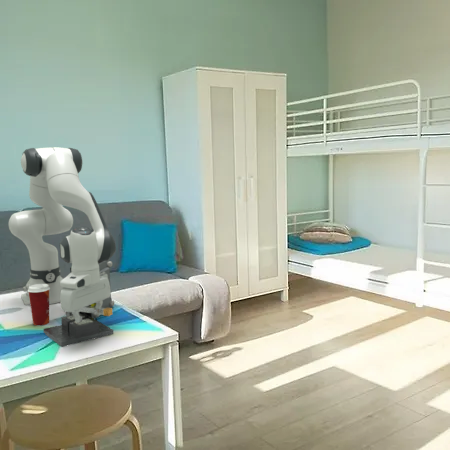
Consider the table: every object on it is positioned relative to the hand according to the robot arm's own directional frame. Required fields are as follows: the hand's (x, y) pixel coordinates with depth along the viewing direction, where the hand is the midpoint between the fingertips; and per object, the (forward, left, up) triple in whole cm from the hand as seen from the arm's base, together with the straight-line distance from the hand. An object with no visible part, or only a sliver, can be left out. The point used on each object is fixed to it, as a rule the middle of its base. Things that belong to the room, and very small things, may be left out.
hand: (88, 317), depth 168 cm
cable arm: (-8, +3, 0) cm, 8 cm away
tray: (-8, -1, -7) cm, 11 cm away
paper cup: (-28, -7, -8) cm, 30 cm away
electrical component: (-26, +13, -8) cm, 30 cm away
